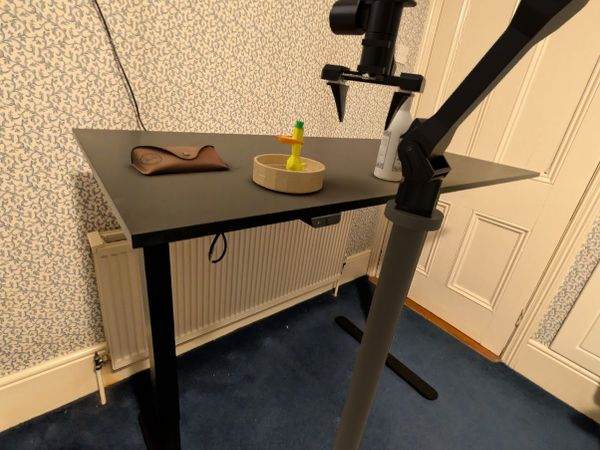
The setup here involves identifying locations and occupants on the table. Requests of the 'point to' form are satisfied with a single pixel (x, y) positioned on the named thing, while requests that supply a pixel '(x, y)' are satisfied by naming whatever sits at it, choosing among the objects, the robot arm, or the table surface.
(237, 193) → the table surface
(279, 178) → the bowl
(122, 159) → the table surface
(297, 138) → the toy figure
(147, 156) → the sunglasses case
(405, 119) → the bath foam
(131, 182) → the table surface
